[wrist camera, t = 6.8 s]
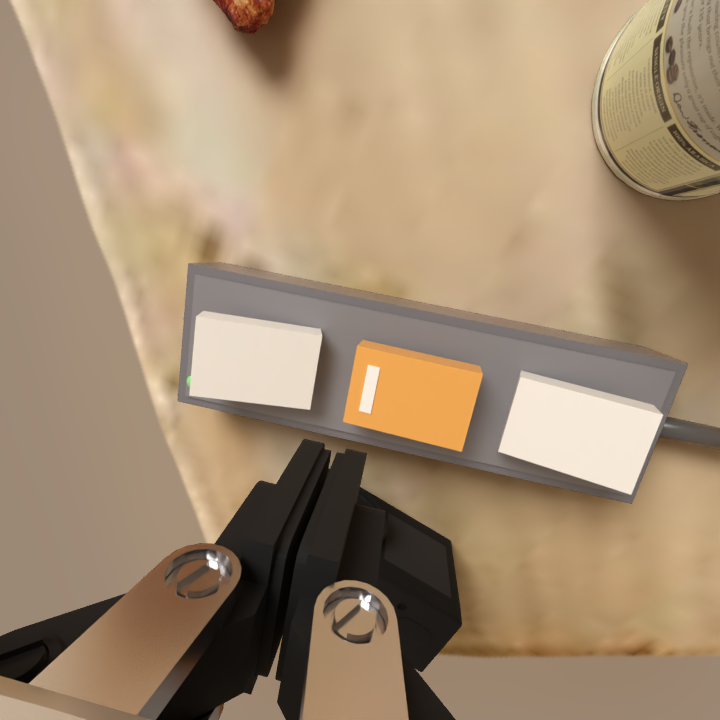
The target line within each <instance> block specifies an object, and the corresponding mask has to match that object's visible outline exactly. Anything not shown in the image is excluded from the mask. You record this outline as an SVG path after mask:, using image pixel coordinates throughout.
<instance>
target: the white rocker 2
mask: <svg viewBox="0 0 720 720" xmlns="http://www.w3.org/2000/svg"><path fill="white" fill-rule="evenodd" d="M662 417H663V414H662V413H661V412H660V411H659V410H658V409H657V408H656V407H655V406H654V405H652V404H648V403H644V402H641V401H637V400H633V399H629V398H625V397H621V396H617V395H614V394H610V393H606V392H602V391H598V390H594V389H591V388H587V387H583V386H579V385H575V384H571V383H567V382H564V381H560V380H556V379H552V378H548V377H544V376H541V375H537V374H533V373H529V372H525V371H521V372H520V375H519V379H518V382H517V385H516V389H515V392H514V396H513V399H512V402H511V406H510V409H509V412H508V416H507V419H506V422H505V426H504V429H503V433H502V436H501V439H500V444H499V450H498V452H501V453H504V454H507V455H510V456H513V457H516V458H519V459H522V460H526V461H529V462H532V463H535V464H538V465H541V466H544V467H547V468H550V469H553V470H556V471H559V472H562V473H566V474H569V475H572V476H575V477H578V478H581V479H584V480H587V481H590V482H593V483H596V484H599V485H602V486H606V487H609V488H612V489H615V490H618V491H621V492H624V493H627V494H630V495H631V494H632V492H633V489H634V487H635V484H636V482H637V479H638V477H639V474H640V472H641V469H642V467H643V464H644V462H645V459H646V457H647V454H648V452H649V449H650V447H651V444H652V442H653V439H654V437H655V434H656V432H657V429H658V427H659V424H660V422H661V419H662Z"/></svg>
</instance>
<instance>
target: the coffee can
mask: <svg viewBox="0 0 720 720" xmlns="http://www.w3.org/2000/svg"><path fill="white" fill-rule="evenodd" d="M592 125H593V132H594V136H595V139H596V143H597V146H598V148H599V151H600V153H601V155H602V157H603V158H604V160H605V162H606V163H607V165H608V166H609V167H610V168H611V170H612V171H613V172H614V174H615V175H616V176H617V177H618V178H619V179H621V180H622V181H624V182H625V183H626V184H627V185H628V186H630V187H632V188H633V189H635V190H637V191H639V192H641V193H643V194H646V195H649V196H652V197H655V198H660V199H666V200H682V201H684V200H691V199H698V198H703V197H707V196H711V195H715V194H718V193H720V0H650V1H649V2H648V3H647V4H646V5H645V6H643V7H642V8H641V9H640V10H639V11H638V12H637V13H636V14H635V15H633V17H632V18H631V19H630V20H629V21H628V22H627V23H626V24H625V26H624V27H623V28H622V30H621V31H620V32H619V34H618V35H617V36H616V38H615V39H614V41H613V43H612V44H611V46H610V48H609V49H608V51H607V53H606V55H605V57H604V59H603V62H602V64H601V67H600V69H599V72H598V75H597V79H596V82H595V87H594V91H593V96H592Z"/></svg>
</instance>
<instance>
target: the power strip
mask: <svg viewBox="0 0 720 720" xmlns="http://www.w3.org/2000/svg"><path fill="white" fill-rule="evenodd" d="M202 311H208V312H215V313H221V314H228V315H234V316H241V317H247V318H254V319H260V320H267V321H273V322H280V323H286V324H293V325H299V326H306V327H312V328H319V329H321V332H322V341H321V347H320V353H319V359H318V365H317V371H316V377H315V383H314V389H313V395H312V401H311V407H310V410H308V409H299V408H291V407H282V406H274V405H265V404H257V403H248V402H240V401H231V400H223V399H214V398H206V397H197V396H189V392H190V381H191V369H192V357H193V345H194V333H195V322H196V316H197V315H199V314H200V313H201V312H202ZM362 340H366V341H371V342H375V343H380V344H384V345H389V346H393V347H398V348H402V349H406V350H411V351H415V352H420V353H424V354H429V355H433V356H438V357H442V358H447V359H451V360H456V361H460V362H465V363H469V364H474V365H478V366H480V367H481V370H482V372H483V376H482V380H481V384H480V387H479V391H478V395H477V398H476V402H475V406H474V409H473V413H472V417H471V420H470V424H469V427H468V431H467V435H466V438H465V442H464V446H463V449H462V452H460V451H456V450H452V449H448V448H444V447H440V446H436V445H432V444H429V443H425V442H421V441H417V440H413V439H409V438H405V437H401V436H397V435H393V434H389V433H385V432H381V431H377V430H373V429H369V428H365V427H361V426H357V425H353V424H349V423H345V422H343V418H344V413H345V407H346V402H347V397H348V392H349V386H350V381H351V376H352V370H353V365H354V360H355V354H356V349H357V345H358V344H359V343H360V342H361V341H362ZM687 366H688V364H687V363H685V362H682V361H680V360H677V359H674V358H672V357H669V356H667V355H664V354H661V353H659V352H656V351H654V350H651V349H648V348H646V347H642V346H637V345H632V344H627V343H622V342H617V341H612V340H607V339H602V338H597V337H592V336H587V335H582V334H577V333H572V332H567V331H562V330H557V329H552V328H547V327H542V326H537V325H532V324H527V323H522V322H517V321H512V320H507V319H502V318H497V317H492V316H487V315H482V314H477V313H472V312H467V311H462V310H457V309H452V308H447V307H442V306H437V305H432V304H427V303H422V302H417V301H412V300H407V299H402V298H397V297H391V296H386V295H381V294H376V293H371V292H366V291H361V290H356V289H351V288H346V287H341V286H336V285H331V284H326V283H321V282H316V281H311V280H306V279H301V278H296V277H291V276H286V275H281V274H276V273H271V272H266V271H261V270H256V269H251V268H246V267H241V266H236V265H231V264H226V263H221V262H220V263H188V274H187V287H186V300H185V312H184V325H183V338H182V351H181V364H180V377H179V390H178V401H179V402H183V403H188V404H192V405H196V406H201V407H205V408H210V409H214V410H219V411H223V412H227V413H232V414H236V415H241V416H245V417H250V418H254V419H258V420H263V421H267V422H272V423H276V424H280V425H285V426H289V427H294V428H298V429H303V430H307V431H311V432H316V433H320V434H325V435H329V436H334V437H338V438H342V439H347V440H351V441H356V442H360V443H365V444H369V445H373V446H378V447H382V448H387V449H391V450H395V451H400V452H404V453H409V454H413V455H418V456H422V457H426V458H431V459H435V460H440V461H444V462H449V463H453V464H457V465H462V466H466V467H471V468H475V469H480V470H484V471H488V472H493V473H497V474H502V475H506V476H510V477H515V478H519V479H524V480H528V481H533V482H537V483H541V484H546V485H550V486H555V487H559V488H564V489H568V490H572V491H577V492H581V493H586V494H590V495H594V496H599V497H603V498H608V499H612V500H617V501H621V502H625V503H630V504H632V502H633V500H634V497H635V495H636V492H637V490H638V487H639V485H640V482H641V480H642V477H643V475H644V472H645V470H646V467H647V465H648V462H649V460H650V457H651V455H652V453H653V450H654V448H655V445H656V443H657V440H658V438H659V437H663V438H667V439H672V440H677V441H681V442H686V443H691V444H695V445H700V446H705V447H709V448H714V449H719V450H720V428H718V427H713V426H709V425H704V424H699V423H694V422H690V421H685V420H680V419H675V418H671V417H667V415H668V413H669V410H670V408H671V405H672V403H673V400H674V398H675V396H676V393H677V391H678V388H679V386H680V383H681V381H682V378H683V376H684V373H685V371H686V368H687ZM521 371H525V372H529V373H533V374H537V375H541V376H544V377H548V378H552V379H556V380H560V381H564V382H567V383H571V384H575V385H579V386H583V387H587V388H591V389H594V390H598V391H602V392H606V393H610V394H614V395H617V396H621V397H625V398H629V399H633V400H637V401H641V402H644V403H648V404H652V405H654V406H655V407H656V408H657V409H658V410H659V411H660V412H661V413H662V414H663V417H662V419H661V422H660V424H659V427H658V429H657V432H656V434H655V437H654V439H653V442H652V444H651V447H650V449H649V452H648V454H647V457H646V459H645V462H644V464H643V467H642V469H641V472H640V474H639V477H638V479H637V482H636V484H635V487H634V489H633V492H632V494H631V495H630V494H627V493H624V492H621V491H618V490H615V489H612V488H609V487H606V486H602V485H599V484H596V483H593V482H590V481H587V480H584V479H581V478H578V477H575V476H572V475H569V474H566V473H562V472H559V471H556V470H553V469H550V468H547V467H544V466H541V465H538V464H535V463H532V462H529V461H526V460H522V459H519V458H516V457H513V456H510V455H507V454H504V453H501V452H498V450H499V444H500V439H501V436H502V433H503V429H504V426H505V422H506V419H507V416H508V412H509V409H510V406H511V402H512V399H513V396H514V392H515V389H516V385H517V382H518V379H519V375H520V372H521Z"/></svg>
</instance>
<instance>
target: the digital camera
mask: <svg viewBox="0 0 720 720" xmlns="http://www.w3.org/2000/svg"><path fill="white" fill-rule="evenodd" d="M329 471H330V469H328V473H327V476H328V474H329ZM326 479H327V478H326ZM356 504H359V505H363V506H368V507H372V508H376V509H380V510H384V511H385V512H386V513H385V522H384V530H383V538H382V547H381V555H380V563H379V571H378V580H377V589H378V590H379V591H381V592H382V593H383V594H384V595H385V596H386V597H387V598H388V599H389V601H390V603H391V604H392V606H393V607H394V610H395V614H396V617H397V623H398V632H399V640H400V649H401V652H402V654H403V655H404V656H405V657H406V659H407V660H408V661H409V662H410V663H411V665H412V666H413V667H414V668H415V669H417V670H418V671H420V672H422V671H423V670H424V669H425V668H426V667H427V665H428V664H429V663H430V662H431V661H432V660H433V659H434V657H435V656H436V655H437V654H438V653H439V652H440V650H441V649H442V648H443V647H444V646H445V645H446V643H447V642H448V641H449V640H450V639H451V638H452V636H453V635H454V634H455V633H456V632H457V631H458V629H459V628H460V627H461V625H462V619H461V610H460V602H459V595H458V588H457V581H456V574H455V567H454V560H453V553H452V546H451V541H450V540H448V539H447V538H445V537H443V536H442V535H440V534H438V533H437V532H435V531H433V530H432V529H430V528H428V527H427V526H425V525H423V524H422V523H420V522H418V521H416V520H415V519H413V518H411V517H410V516H408V515H406V514H405V513H403V512H401V511H400V510H398V509H396V508H395V507H393V506H391V505H389V504H388V503H386V502H384V501H383V500H381V499H379V498H378V497H376V496H374V495H373V494H371V493H369V492H367V491H366V490H364V489H362V488H361V487H360V488H359V493H358V498H357V503H356Z"/></svg>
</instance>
